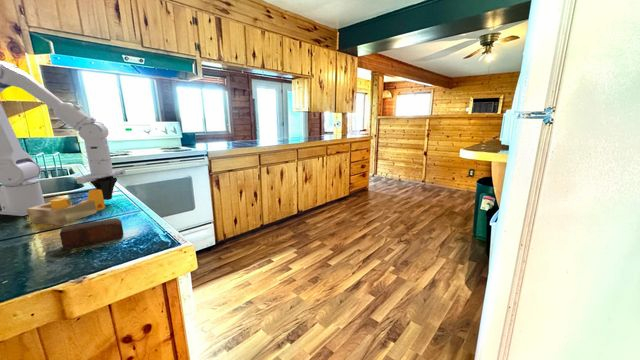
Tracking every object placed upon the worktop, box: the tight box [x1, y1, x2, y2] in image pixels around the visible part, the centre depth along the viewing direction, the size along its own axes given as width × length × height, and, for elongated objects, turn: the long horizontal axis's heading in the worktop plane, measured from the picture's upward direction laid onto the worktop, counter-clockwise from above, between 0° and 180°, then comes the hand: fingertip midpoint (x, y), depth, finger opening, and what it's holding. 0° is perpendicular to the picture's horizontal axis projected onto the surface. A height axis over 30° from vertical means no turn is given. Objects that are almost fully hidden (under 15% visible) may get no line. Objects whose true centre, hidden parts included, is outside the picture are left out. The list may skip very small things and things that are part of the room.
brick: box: [59, 217, 124, 251], centre depth 59 cm, size 11×4×5 cm, turn 128°
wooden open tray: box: [27, 197, 98, 226], centre depth 74 cm, size 10×10×4 cm
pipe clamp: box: [49, 188, 106, 212], centre depth 76 cm, size 12×4×6 cm, turn 170°
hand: (107, 199), depth 86 cm, fingers closed
